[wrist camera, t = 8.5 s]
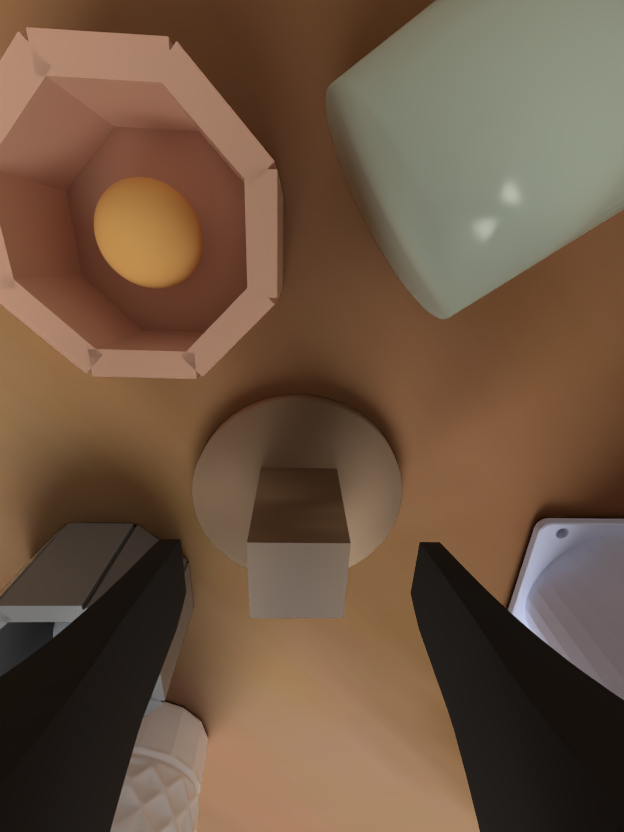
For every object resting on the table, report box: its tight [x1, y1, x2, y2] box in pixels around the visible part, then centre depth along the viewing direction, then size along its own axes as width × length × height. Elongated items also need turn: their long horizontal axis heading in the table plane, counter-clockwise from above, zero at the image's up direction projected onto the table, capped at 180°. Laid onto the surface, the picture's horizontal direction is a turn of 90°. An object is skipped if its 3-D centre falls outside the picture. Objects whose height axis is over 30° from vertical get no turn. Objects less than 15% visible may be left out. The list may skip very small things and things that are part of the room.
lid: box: [192, 394, 402, 618], centre depth 13 cm, size 8×8×5 cm
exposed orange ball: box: [94, 177, 203, 289], centre depth 10 cm, size 3×3×3 cm
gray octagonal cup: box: [0, 523, 194, 718], centre depth 15 cm, size 7×7×4 cm
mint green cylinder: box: [325, 0, 624, 319], centre depth 8 cm, size 5×6×6 cm
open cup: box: [0, 27, 284, 379], centre depth 10 cm, size 7×7×4 cm
